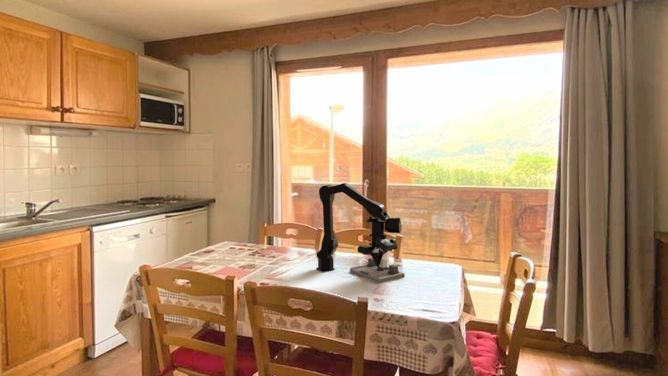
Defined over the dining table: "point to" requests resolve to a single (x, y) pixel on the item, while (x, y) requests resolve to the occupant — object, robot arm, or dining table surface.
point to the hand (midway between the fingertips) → (377, 266)
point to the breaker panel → (377, 272)
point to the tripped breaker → (383, 265)
